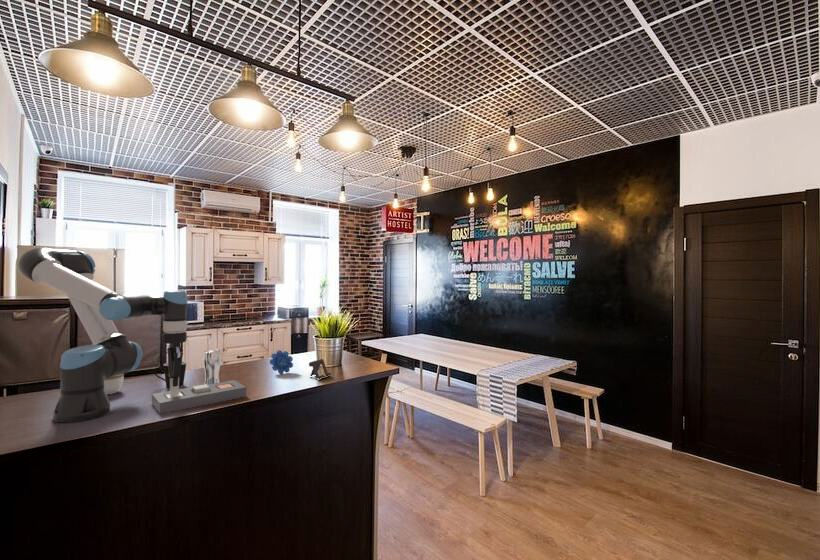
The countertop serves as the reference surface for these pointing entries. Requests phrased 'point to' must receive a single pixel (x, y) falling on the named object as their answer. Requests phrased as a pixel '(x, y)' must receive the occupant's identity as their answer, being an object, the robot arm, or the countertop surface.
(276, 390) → the countertop surface
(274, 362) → the blue gear
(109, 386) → the lidded jar
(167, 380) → the coffee mug
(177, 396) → the cream key
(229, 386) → the terracotta key
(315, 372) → the portable electronic device stand
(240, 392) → the keypad
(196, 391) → the sage key
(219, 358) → the beer glass
